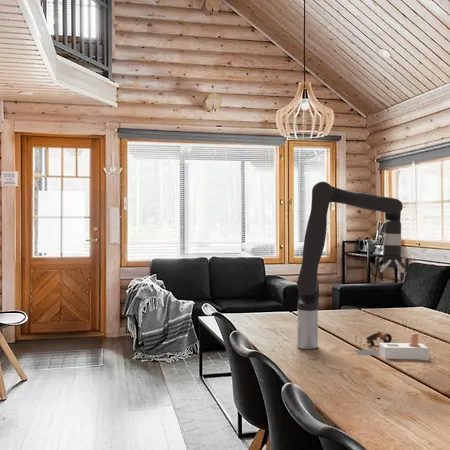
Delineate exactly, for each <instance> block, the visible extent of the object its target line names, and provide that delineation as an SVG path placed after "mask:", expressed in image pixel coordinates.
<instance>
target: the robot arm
mask: <svg viewBox="0 0 450 450" xmlns="http://www.w3.org/2000/svg"><path fill="white" fill-rule="evenodd" d="M330 203H336V204H342V205H348V206H351V207H355V208H357V209H358V208H359V209H363V210H369V211H372V212H381V213H384V219H385V220H384V234H383V248H382V249H383V251H382V257H380V256H376V257H375V258H374V259H375V260H374V261H375V262H374V270H375V271H377V272H378V280H379V281H380V282H383V280H384V270H385V269H386V268H397V269H398V270H399V272H400V273H399V282H400V283H402V282H403V281H404V280H405V273H408V272H409V271H410V268H409V267H410V266H409V265H410V263H409V258H408V257H404V258H403V257H402V222H401V215H402V210H403V203H402V201H401V200H400V199H397V198H394V197H388V196H380V195H376V194H373V193H367V192H362V191H352V190H347V189H342V188H338V187H335V186H333V185H331V184H329V183H328V182H326V181H318V182H317V183H315V184H314V185H313V187H312V190H311V208H310V213H309V216H308V217H309V218H308V220H307V225H306V229H305V234H304V240H303V248H302V260H301V267H300V271H299V274H298V278H297V281H296V287H297V291H298V299H297V321H296V322H297V325H296V346H297V349H302V350H316V349H318V348H319V347H318V346H319V301H320V300H319V299H320V298H319V297H320V283H319V279H318V269H319V264H320V261H321V259H322V255H323V252H324V248H325V244H326V237H327V225H328V219H327V218H328V211H329V206H330ZM381 261H382V262H383V264H382V265H381V266H380V263H381ZM401 262H403V264H404V268H403V267H402V265H401Z"/></svg>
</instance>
